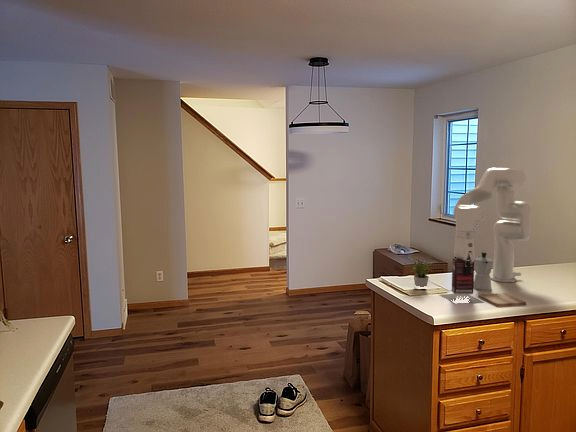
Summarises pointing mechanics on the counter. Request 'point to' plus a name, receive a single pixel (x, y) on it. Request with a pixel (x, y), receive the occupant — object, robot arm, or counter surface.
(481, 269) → the coffee maker
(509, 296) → the walnut board
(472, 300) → the plate
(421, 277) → the house plant
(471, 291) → the supplement box
